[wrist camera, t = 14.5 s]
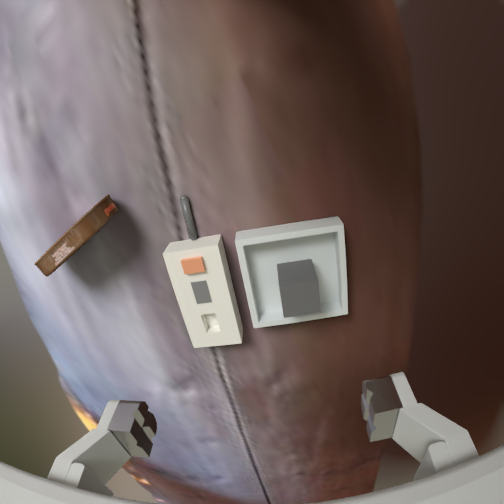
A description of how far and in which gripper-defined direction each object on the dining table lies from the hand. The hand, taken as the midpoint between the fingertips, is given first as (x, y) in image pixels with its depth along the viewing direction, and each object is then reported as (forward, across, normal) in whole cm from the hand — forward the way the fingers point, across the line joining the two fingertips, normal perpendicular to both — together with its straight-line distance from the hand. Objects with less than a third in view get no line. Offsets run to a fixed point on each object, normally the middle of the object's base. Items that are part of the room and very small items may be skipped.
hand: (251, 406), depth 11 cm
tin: (+31, +24, 0) cm, 40 cm away
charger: (+31, -3, +11) cm, 33 cm away
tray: (+31, -3, +11) cm, 33 cm away
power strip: (+31, +9, +9) cm, 34 cm away
